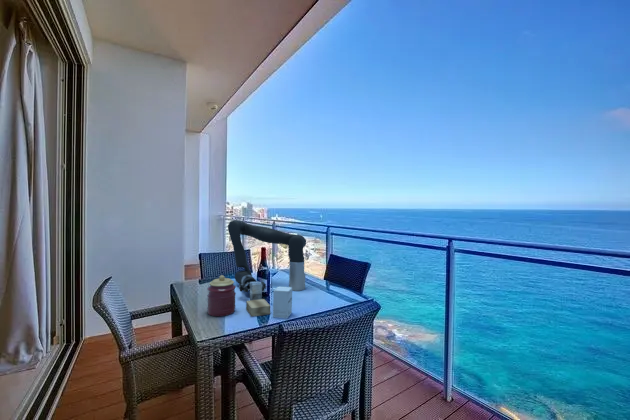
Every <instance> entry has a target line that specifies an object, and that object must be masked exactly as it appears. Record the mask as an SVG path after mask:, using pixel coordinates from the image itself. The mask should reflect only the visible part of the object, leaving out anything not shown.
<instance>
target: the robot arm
mask: <svg viewBox="0 0 630 420" xmlns="http://www.w3.org/2000/svg"><path fill="white" fill-rule="evenodd" d="M227 231H228V233H229V238H230V241H231V244H232V248H233V253H234V260H235V266H236V267H237V268H243V269H244V270H240V271H239V270H238V271H237V272H235V274H234V280H235V282H236V283H237V284H238V290H239V291H240V292H244V293H249V292H250V282H256V281H257V280H256V278H254V277H253V274H252V272H251V269H250V267H249V264H248V259H247V253H246V250H245V248H244V245H243V242H242V239H241V236H248V237H252V238H253V239H256V240H257V241H260V242H264V243H268V244H275V245H276V244H277V245H286V246H288V258H289V271H288V273H289V275H288V277H289V280H288V281H289V282H288V287H292V292H295V291H296V292H299V291H304V290H306V273H305V256H304V248H305V247H306V245H307V240H306V238H305V237H304V236H303V235H301V234H293V233H287V232H285V231H280V230H278V229H274V228H270V227H265V226H259V225H253V224H251V223H250V224H249V223H246V222H244V221H241V220H231V221H229V223H228V224H227ZM260 283H261V284H262V292H264V291H265V289H267V288H266V287H267V284H266V283H265V282H263V281H261V282H260Z"/></svg>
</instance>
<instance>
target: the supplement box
mask: <svg viewBox="0 0 630 420" xmlns="http://www.w3.org/2000/svg"><path fill="white" fill-rule="evenodd" d="M272 293H273V295H272V297H273V299H272V317H273V318H277V319H285V320H286V319H289V317H290V315H291V314H292V313H293V312H292V311H293V310H292V309H293V290H292V287H289V286H276V288H275V289H274V290H273V292H272Z"/></svg>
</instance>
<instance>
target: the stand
mask: <svg viewBox="0 0 630 420" xmlns="http://www.w3.org/2000/svg"><path fill="white" fill-rule="evenodd" d="M245 301H246V305H245V310H246V311H247V313H248V314H249V315H250V318H252V317H254V318H255V317H259V316H267V315H270V314H271V305H270V303H268V301H267V300H266V299H265V298H262V299H259V300H251V301H250V300H245Z"/></svg>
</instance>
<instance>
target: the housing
mask: <svg viewBox="0 0 630 420" xmlns="http://www.w3.org/2000/svg"><path fill="white" fill-rule="evenodd" d="M262 294H263V291H262V284H261V282H260V281H259V280H258V281H257V280H256V282H250V291H249V301H251V300H259V299H263V298H262V297H263V295H262Z"/></svg>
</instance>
